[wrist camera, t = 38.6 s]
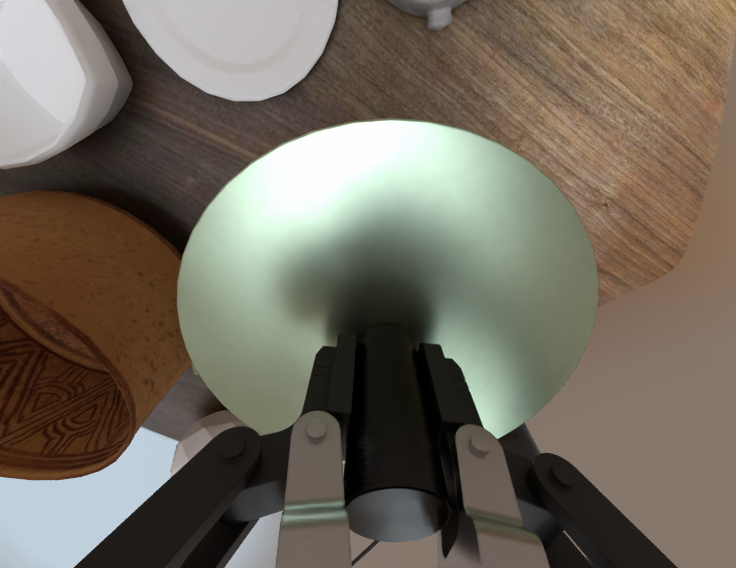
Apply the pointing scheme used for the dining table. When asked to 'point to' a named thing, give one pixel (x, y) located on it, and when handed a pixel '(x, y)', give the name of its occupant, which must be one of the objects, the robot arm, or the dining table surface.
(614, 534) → the robot arm
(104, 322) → the pot
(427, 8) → the dish
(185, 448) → the geometric shape
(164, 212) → the dining table surface
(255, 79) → the plate
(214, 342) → the lid
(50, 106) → the bowl
